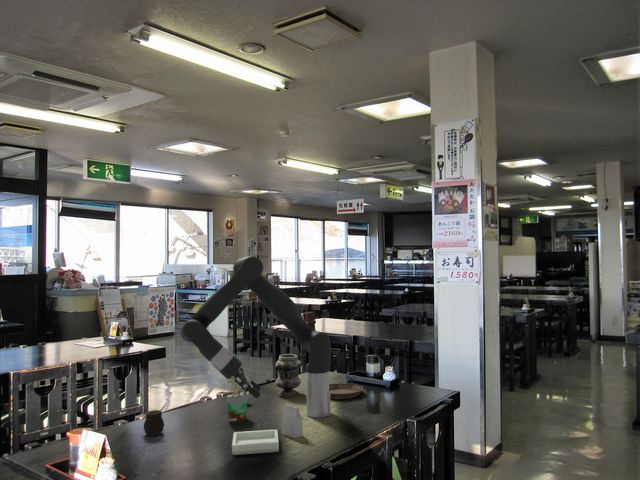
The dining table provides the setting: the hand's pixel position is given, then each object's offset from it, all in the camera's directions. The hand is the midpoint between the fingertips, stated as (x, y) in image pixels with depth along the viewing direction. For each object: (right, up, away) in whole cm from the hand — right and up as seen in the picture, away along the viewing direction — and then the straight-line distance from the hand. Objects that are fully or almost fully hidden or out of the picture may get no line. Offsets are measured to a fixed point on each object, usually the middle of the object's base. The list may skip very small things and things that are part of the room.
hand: (258, 393), depth 181 cm
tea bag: (+12, -15, +1) cm, 19 cm away
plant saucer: (+32, -17, +54) cm, 65 cm away
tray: (0, -15, -10) cm, 18 cm away
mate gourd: (-39, -17, +5) cm, 43 cm away
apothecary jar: (+7, -18, +57) cm, 61 cm away
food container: (-10, -17, +20) cm, 28 cm away
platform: (-14, -18, +41) cm, 47 cm away
